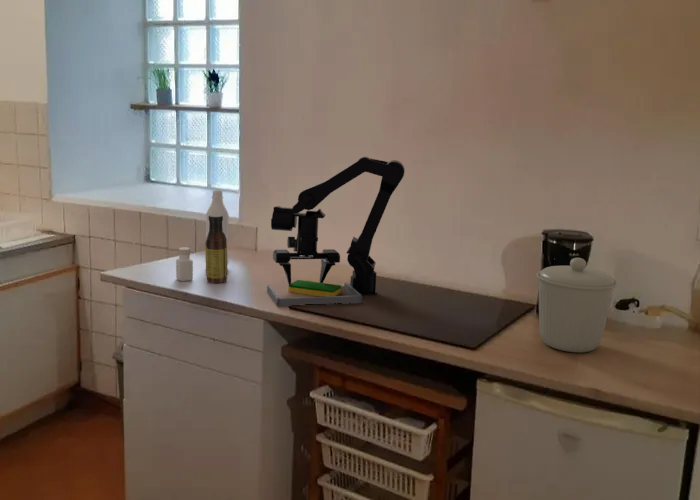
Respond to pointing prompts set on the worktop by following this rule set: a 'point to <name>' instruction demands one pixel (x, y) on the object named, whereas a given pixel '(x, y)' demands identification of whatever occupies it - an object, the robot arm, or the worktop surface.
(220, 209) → the water bottle
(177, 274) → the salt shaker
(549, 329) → the canister
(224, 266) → the sauce bottle
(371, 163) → the robot arm
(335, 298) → the box
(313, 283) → the dish sponge
